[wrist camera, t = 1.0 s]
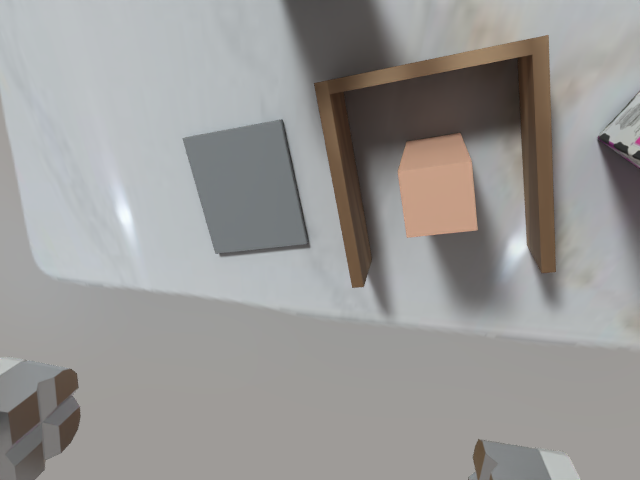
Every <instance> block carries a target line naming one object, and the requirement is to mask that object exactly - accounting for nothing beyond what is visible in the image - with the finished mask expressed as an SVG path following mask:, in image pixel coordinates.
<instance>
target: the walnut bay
mask: <svg viewBox="0 0 640 480" xmlns="http://www.w3.org/2000/svg"><path fill="white" fill-rule="evenodd" d="M512 58H517V62H518V81H519V100H520V119H521V139H522V158H523V177H524V197H525V216H526V235H527V246H528V248H529V250H530V252H531V254H532V255H533V257H534V259H535V261H536V263H537V265H538V267H539V269H540V271H541V273H550V272H556V262H555V230H554V197H553V165H552V133H551V101H550V68H549V36H548V35H546V36H541V37H537V38H532V39H527V40H522V41H517V42H512V43H507V44H502V45H498V46H493V47H488V48H483V49H478V50H473V51H468V52H463V53H459V54H454V55H449V56H444V57H439V58H434V59H429V60H425V61H420V62H415V63H410V64H405V65H400V66H395V67H390V68H386V69H381V70H376V71H371V72H366V73H361V74H356V75H352V76H347V77H342V78H337V79H332V80H327V81H322V82H317V83H314V86H315V91H316V97H317V102H318V107H319V113H320V118H321V123H322V129H323V134H324V139H325V145H326V150H327V155H328V161H329V166H330V171H331V177H332V182H333V187H334V193H335V198H336V203H337V209H338V214H339V219H340V225H341V230H342V235H343V241H344V246H345V251H346V257H347V262H348V267H349V273H350V278H351V283H352V288H356V287H364V284H365V281H366V278H367V274H368V271H369V268H370V264H371V261H372V257H371V251H370V245H369V239H368V233H367V227H366V221H365V215H364V209H363V203H362V197H361V192H360V186H359V180H358V174H357V168H356V162H355V156H354V150H353V144H352V138H351V132H350V126H349V121H348V115H347V109H346V103H345V97H344V92H345V91H350V90H355V89H360V88H365V87H370V86H375V85H380V84H385V83H390V82H395V81H401V80H406V79H411V78H416V77H421V76H426V75H431V74H436V73H441V72H446V71H451V70H457V69H462V68H467V67H472V66H477V65H482V64H487V63H492V62H497V61H502V60H507V59H512Z"/></svg>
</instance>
